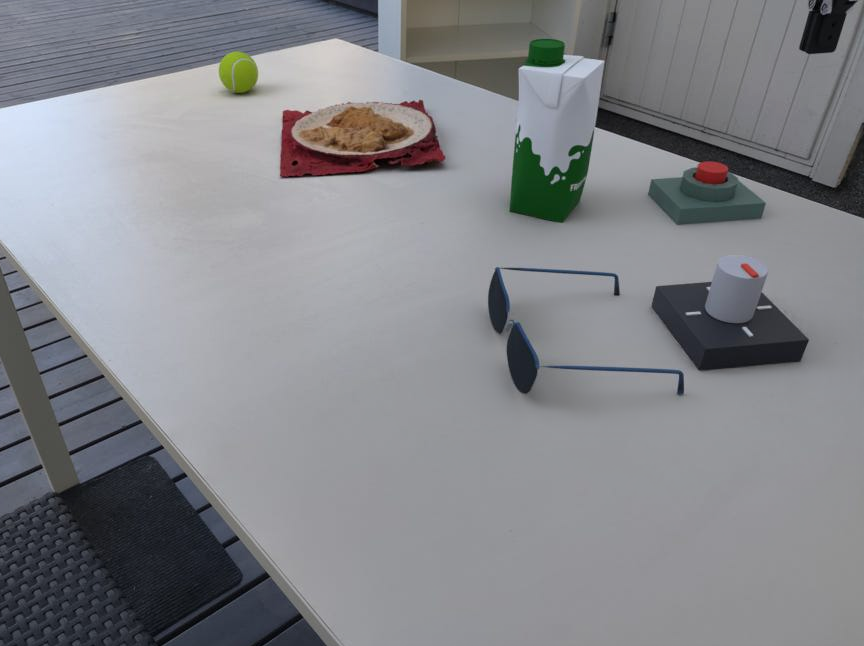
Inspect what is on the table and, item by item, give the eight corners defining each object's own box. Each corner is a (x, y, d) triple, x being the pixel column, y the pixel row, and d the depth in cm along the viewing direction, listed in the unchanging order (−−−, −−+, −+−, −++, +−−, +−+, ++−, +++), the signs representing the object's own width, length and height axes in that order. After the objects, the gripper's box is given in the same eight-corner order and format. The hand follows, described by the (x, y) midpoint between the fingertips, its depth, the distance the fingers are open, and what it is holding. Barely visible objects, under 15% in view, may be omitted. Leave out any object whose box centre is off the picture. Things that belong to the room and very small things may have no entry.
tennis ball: (215, 91, 137) (209, 51, 133) (248, 83, 140) (244, 44, 136) (232, 100, 133) (227, 60, 128) (267, 92, 136) (262, 52, 132)
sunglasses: (482, 302, 79) (491, 260, 76) (613, 308, 81) (627, 268, 78) (521, 408, 65) (534, 362, 62) (677, 412, 67) (697, 368, 64)
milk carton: (525, 187, 101) (541, 31, 89) (589, 201, 98) (615, 40, 86) (499, 212, 95) (513, 49, 83) (567, 228, 92) (592, 60, 80)
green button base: (726, 189, 100) (734, 160, 98) (761, 219, 93) (770, 189, 90) (647, 194, 99) (653, 165, 97) (676, 225, 92) (684, 195, 90)
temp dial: (696, 300, 74) (709, 253, 70) (738, 296, 74) (753, 249, 71) (718, 325, 70) (733, 277, 67) (762, 321, 71) (779, 273, 67)
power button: (716, 173, 95) (719, 160, 94) (730, 185, 92) (733, 171, 91) (689, 175, 95) (692, 162, 94) (702, 186, 92) (706, 173, 91)
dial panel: (742, 298, 78) (749, 277, 77) (800, 361, 70) (810, 338, 68) (651, 306, 78) (656, 284, 76) (699, 370, 69) (706, 347, 67)
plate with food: (423, 111, 127) (422, 90, 125) (446, 167, 106) (446, 143, 104) (283, 119, 126) (281, 99, 124) (279, 177, 105) (276, 154, 103)
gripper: (794, -157, 75) (748, 36, 86) (891, -150, 63) (823, 74, 74) (865, -162, 75) (810, 32, 86) (975, -155, 63) (895, 68, 74)
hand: (816, 51), depth 80 cm, fingers closed
